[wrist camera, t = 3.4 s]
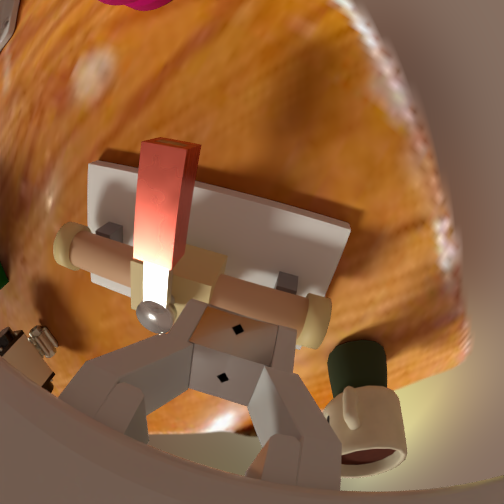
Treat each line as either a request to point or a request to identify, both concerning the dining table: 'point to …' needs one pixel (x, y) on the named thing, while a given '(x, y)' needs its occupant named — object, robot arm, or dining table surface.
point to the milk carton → (3, 277)
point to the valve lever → (162, 223)
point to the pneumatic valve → (30, 353)
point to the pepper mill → (138, 3)
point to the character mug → (364, 410)
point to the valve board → (230, 230)
